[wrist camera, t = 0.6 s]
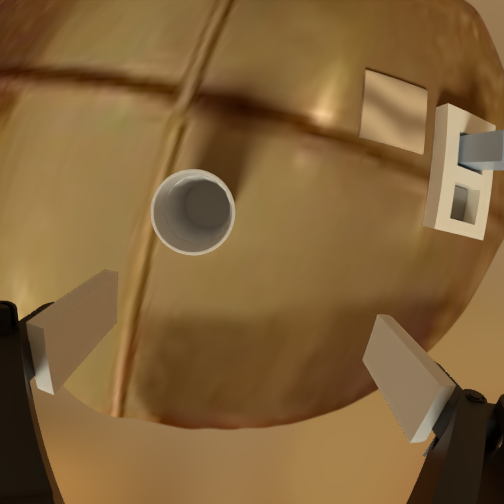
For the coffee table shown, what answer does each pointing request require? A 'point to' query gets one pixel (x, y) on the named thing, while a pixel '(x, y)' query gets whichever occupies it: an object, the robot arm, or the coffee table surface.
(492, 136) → the plug
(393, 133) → the pad
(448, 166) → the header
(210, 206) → the cup
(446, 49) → the coffee table surface
